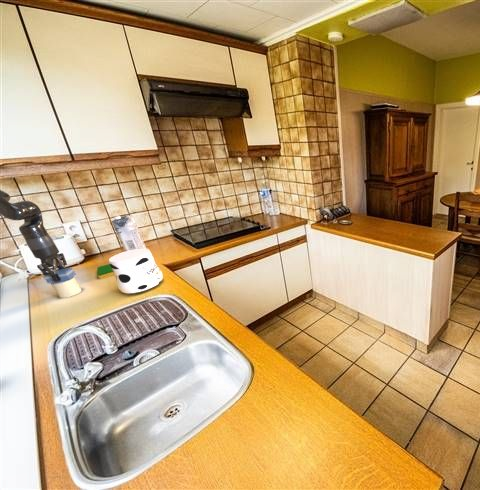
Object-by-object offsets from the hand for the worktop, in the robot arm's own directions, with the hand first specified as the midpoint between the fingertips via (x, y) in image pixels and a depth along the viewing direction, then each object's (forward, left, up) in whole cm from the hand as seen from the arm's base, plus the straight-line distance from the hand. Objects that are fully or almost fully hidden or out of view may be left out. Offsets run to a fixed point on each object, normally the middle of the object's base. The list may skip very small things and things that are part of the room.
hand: (61, 278), depth 126 cm
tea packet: (0, 0, 0) cm, 0 cm away
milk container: (+33, -9, -9) cm, 35 cm away
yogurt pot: (0, 0, -9) cm, 9 cm away
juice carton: (+16, +38, -9) cm, 42 cm away
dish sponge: (+7, +20, -9) cm, 23 cm away
